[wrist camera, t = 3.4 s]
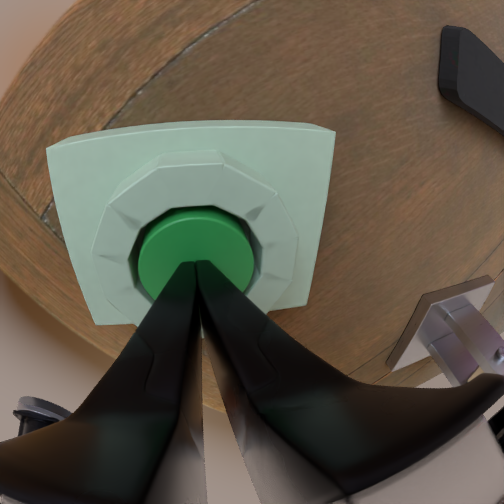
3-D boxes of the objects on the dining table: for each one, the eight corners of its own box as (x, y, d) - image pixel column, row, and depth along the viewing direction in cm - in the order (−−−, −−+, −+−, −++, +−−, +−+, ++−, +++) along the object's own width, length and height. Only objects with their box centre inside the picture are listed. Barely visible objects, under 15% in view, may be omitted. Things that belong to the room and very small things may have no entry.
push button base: (103, 295, 13) (89, 356, 10) (68, 137, 9) (19, 163, 5) (291, 278, 15) (321, 332, 12) (311, 123, 11) (364, 142, 7)
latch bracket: (385, 362, 24) (430, 439, 16) (422, 294, 19) (493, 382, 11) (454, 333, 27) (496, 389, 19) (488, 274, 22) (542, 332, 14)
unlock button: (151, 286, 10) (149, 318, 9) (137, 199, 8) (128, 223, 7) (242, 278, 11) (252, 308, 10) (245, 192, 9) (257, 213, 8)
